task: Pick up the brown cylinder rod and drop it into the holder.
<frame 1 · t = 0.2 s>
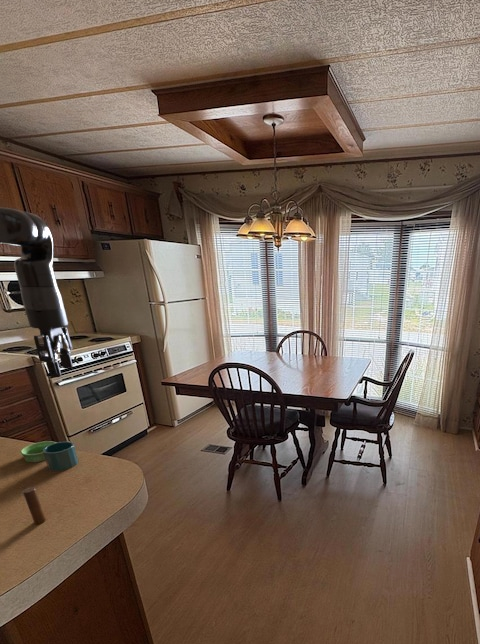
hand: (62, 372, 88), 32 cm above the table, tool pointing down, fingers open, 8 cm apart
ramekin: (43, 460, 108), on the table
holder: (65, 469, 103), on the table
brown cylinder rod: (40, 521, 82), on the table
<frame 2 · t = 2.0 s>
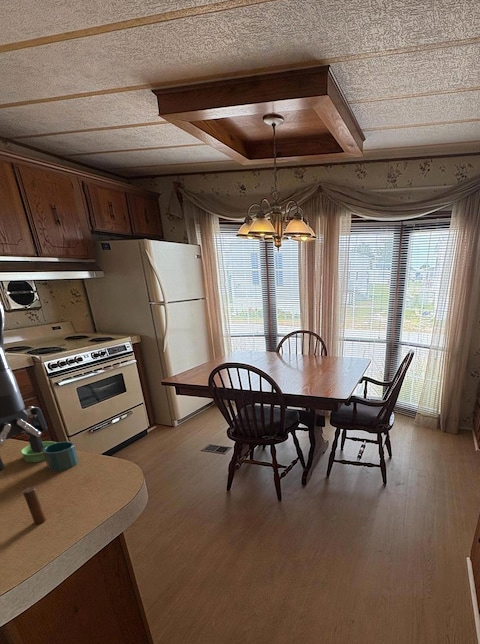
hand: (19, 460, 76), 17 cm above the table, tool pointing down, fingers open, 8 cm apart
nothing on the table moved.
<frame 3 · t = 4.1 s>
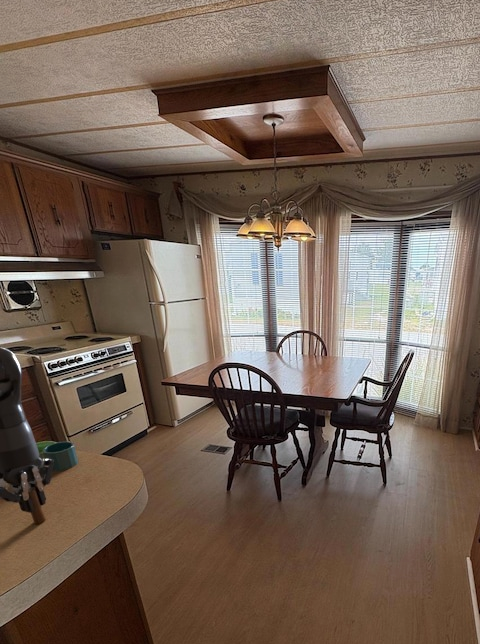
hand: (35, 507, 80), 4 cm above the table, tool pointing down, fingers closed on brown cylinder rod, 2 cm apart
brown cylinder rod: (40, 521, 82), on the table, touching gripper
everything else where it was.
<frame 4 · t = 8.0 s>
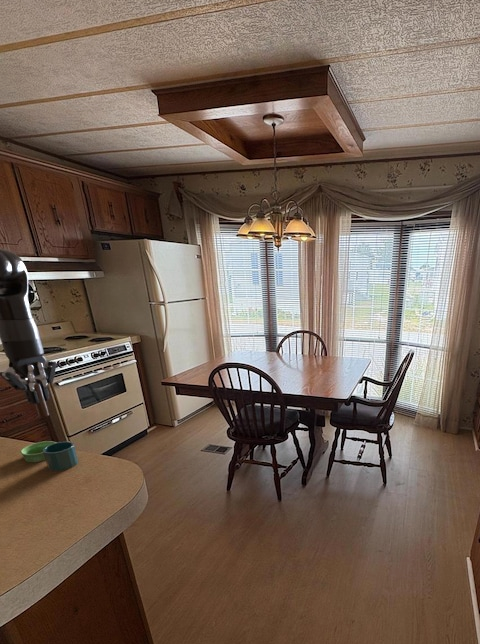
hand: (39, 401, 92), 23 cm above the table, tool pointing down, fingers closed on brown cylinder rod
brown cylinder rod: (44, 415, 93), point 19 cm above the table, touching gripper
everything else where it was.
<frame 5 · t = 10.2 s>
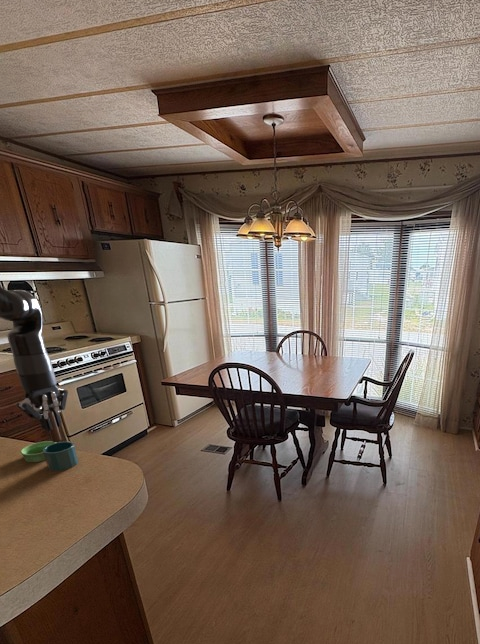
hand: (52, 427, 98), 14 cm above the table, tool pointing down, fingers closed on brown cylinder rod
brown cylinder rod: (56, 440, 100), point 10 cm above the table, touching gripper
everything else where it was.
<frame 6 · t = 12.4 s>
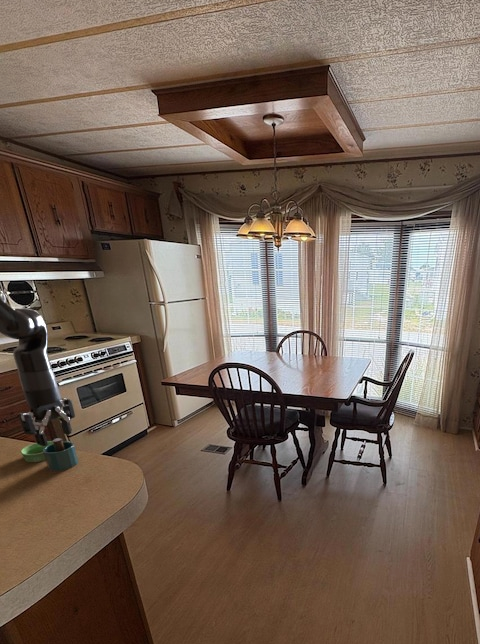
hand: (56, 439, 99), 10 cm above the table, tool pointing down, fingers open, 7 cm apart
brown cylinder rod: (64, 466, 103), point 1 cm above the table, touching holder
everything else where it was.
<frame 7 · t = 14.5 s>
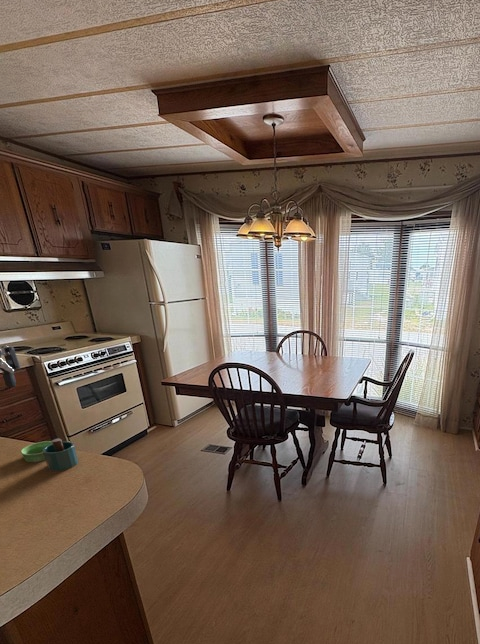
nothing on the table moved.
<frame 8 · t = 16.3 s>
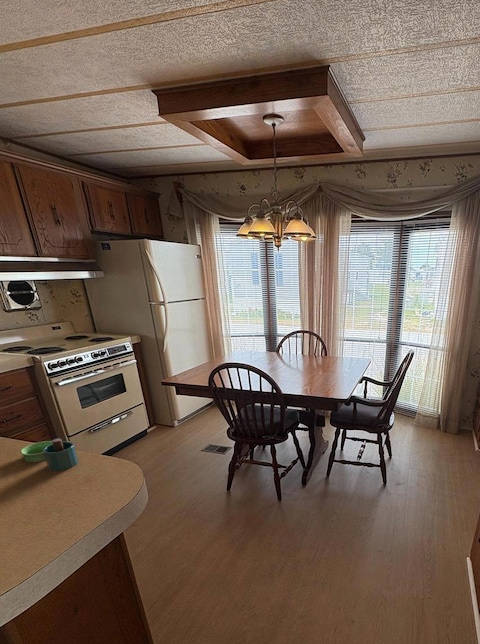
nothing on the table moved.
at the end: brown cylinder rod 0.0 cm off-centre in the holder, point 0.8 cm above the holder's base; the gripper is holding nothing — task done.
